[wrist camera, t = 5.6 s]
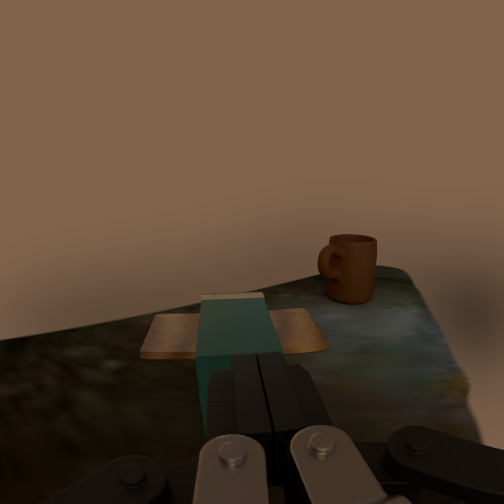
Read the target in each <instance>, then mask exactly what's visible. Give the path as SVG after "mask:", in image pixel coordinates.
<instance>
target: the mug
mask: <svg viewBox="0 0 504 504" xmlns="http://www.w3.org/2000/svg"><path fill="white" fill-rule="evenodd" d="M376 259H377V240H376V239H375V238H373V237H369V236H364V235H353V234H342V235H334V236H331V237H330V240H329V245H328V246H325V247H324V248H323V249H322V250H321V252H320V253H319V257H318V270H319V273H320V274H321V276H322V277H323V278H325V279H327V295H328V297H329V298H330V299H332V300H334V301H336V302H339V303H344V304H361V303H365V302H367V301H369V300H370V299H371V298H372V295H373V290H374V281H375V271H376Z"/></svg>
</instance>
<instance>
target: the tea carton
mask: <svg viewBox="0 0 504 504" xmlns="http://www.w3.org/2000/svg"><path fill="white" fill-rule="evenodd" d="M269 351H280V352H281V354H282V357H283V349H282V346H281V344H280V341H279V338H278V336H277V333H276V330H275V328H274V325H273V322H272V319H271V317H270V314H269V311H268V309H267V306H266V303H265V300H264V296H263V293H262V292H247V293H224V294H203V295H202V298H201V310H200V318H199V325H198V333H197V340H196V348H195V364H196V373H197V381H198V388H199V396H200V403H201V410H202V417H203V424H204V431H205V436H206V423H207V394H208V392H207V391H208V379H209V378H210V377H211V375H212V374H213V373H214V371H215V370H232V355H231V354H240V353H255V355H256V353H257V352H269Z"/></svg>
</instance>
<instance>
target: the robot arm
mask: <svg viewBox="0 0 504 504" xmlns="http://www.w3.org/2000/svg"><path fill="white" fill-rule="evenodd" d="M231 355H232V370H215V371H214V373H213V374H212V375H211V377H210V378H209V379H208V391H207V392H208V394H207V423H206V443H205V445H204V446H203V447H202V449H201V451H200V453H199V454H197V455H196V456H195V457H193V458H192V459H190V460H187V461H185V462H182V463H178V464H173V465H168V466H163V467H162V466H161V465H160V464H159V463H158V462H157V461H155V460H154V459H152V458H149V457H147V456H143V455H126V456H122V457H119V458H116V459H115V460H113V461H111V462H110V463H108V464H106V465H105V466H103V467H101V468H100V469H98V470H97V471H95V472H93V473H92V474H90V475H88V476H87V477H85V478H83V479H82V480H80V481H78V482H76V483H75V484H73V485H71V486H69V487H68V488H66V489H64V490H62V491H61V492H59V493H57V494H55V495H53V496H51V497H50V498H48V499H46V500H44V501H42V502H40V503H38V504H269V500H268V487H270V483H271V480H272V485H273V486H282V485H283V489H284V494H285V502H284V504H504V450H501V449H497V448H493V447H490V446H486V445H482V444H478V443H475V442H471V441H468V440H464V439H461V438H458V437H454V436H451V435H448V434H445V433H442V432H439V431H435V430H432V429H429V428H426V427H422V426H407V427H404V428H401V429H399V430H397V431H396V432H394V433H393V434H392V435H391V437H390V439H389V441H388V442H358V441H353V440H351V438H350V437H349V436H348V435H347V434H346V433H345V432H344V431H342V430H340V429H338V428H336V427H334V426H333V424H332V422H331V420H330V417H329V415H328V413H327V411H326V409H325V407H324V404H323V402H322V400H321V398H320V396H319V394H318V392H317V389H316V387H315V385H314V384H313V381H312V379H311V377H310V374H309V372H307V371H306V370H305V369H303V368H302V367H301V366H299V365H298V364H296V365H285V363H284V360H283V357H282V354H281V352H280V351H269V352H257V353H256V355H255V353H240V354H231ZM424 488H425V489H424ZM427 489H428V490H427ZM430 490H431V491H430ZM433 491H434V492H433ZM436 492H437V493H436ZM439 493H440V494H439ZM442 494H443V495H442ZM445 495H446V496H445ZM448 496H449V497H448ZM451 497H452V498H451ZM454 498H456V499H454Z"/></svg>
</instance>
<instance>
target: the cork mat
mask: <svg viewBox="0 0 504 504" xmlns="http://www.w3.org/2000/svg"><path fill="white" fill-rule="evenodd" d="M268 311H269V314H270V317H271V319H272V322H273V325H274V328H275V330H276V333H277V336H278V338H279V341H280V344H281V346H282V349H283V355H285V354H296V353H306V352H316V351H325V350H327V344H328V343H327V341H326V339H325V338H324V336H323V335H322V333H321V332H320V330H319V329H318V327H317V326H316V324H315V323H314V321H313V320H312V318H311V317H310V315H309V314H308V312H307V311H306V309H305V308H298V309H283V310H268ZM199 318H200V313H195V314H156V316H155V318H154V320H153V322H152V325H151V327H150V329H149V331H148V334H147V336H146V338H145V341H144V343H143V345H142V348H141V350H140V355H141V359H195V348H196V340H197V333H198V325H199Z"/></svg>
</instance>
